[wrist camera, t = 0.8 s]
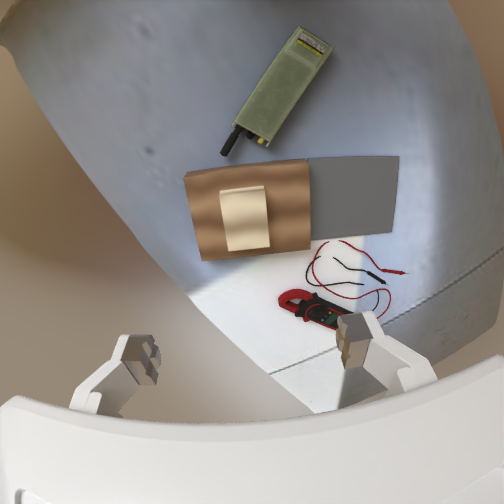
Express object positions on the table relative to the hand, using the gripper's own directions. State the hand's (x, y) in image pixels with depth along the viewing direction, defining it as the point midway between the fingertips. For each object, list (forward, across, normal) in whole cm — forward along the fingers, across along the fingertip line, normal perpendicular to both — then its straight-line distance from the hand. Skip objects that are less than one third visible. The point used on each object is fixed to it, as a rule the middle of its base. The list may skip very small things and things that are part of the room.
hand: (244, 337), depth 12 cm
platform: (+39, 0, +10) cm, 40 cm away
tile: (+35, +1, +10) cm, 37 cm away
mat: (+39, -20, +10) cm, 45 cm away
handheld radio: (+36, -4, -12) cm, 38 cm away
